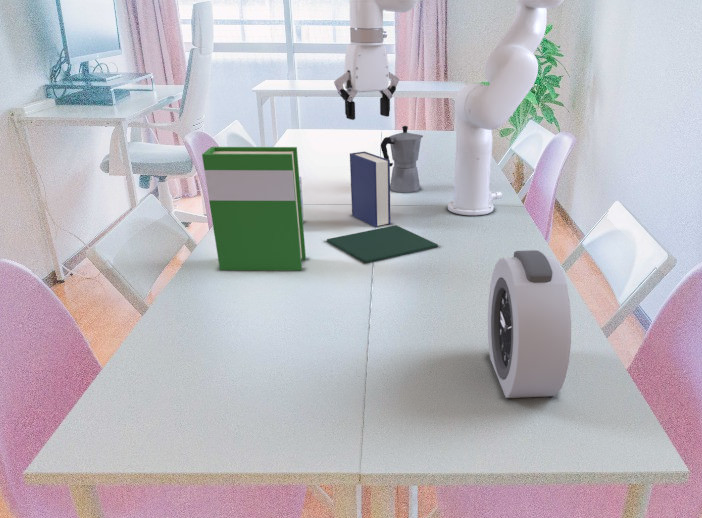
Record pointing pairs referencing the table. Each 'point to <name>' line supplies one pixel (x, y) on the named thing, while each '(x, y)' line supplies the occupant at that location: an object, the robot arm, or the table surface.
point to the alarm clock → (529, 325)
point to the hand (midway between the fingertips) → (368, 117)
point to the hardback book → (255, 207)
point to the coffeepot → (403, 160)
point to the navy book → (370, 188)
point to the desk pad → (381, 243)
